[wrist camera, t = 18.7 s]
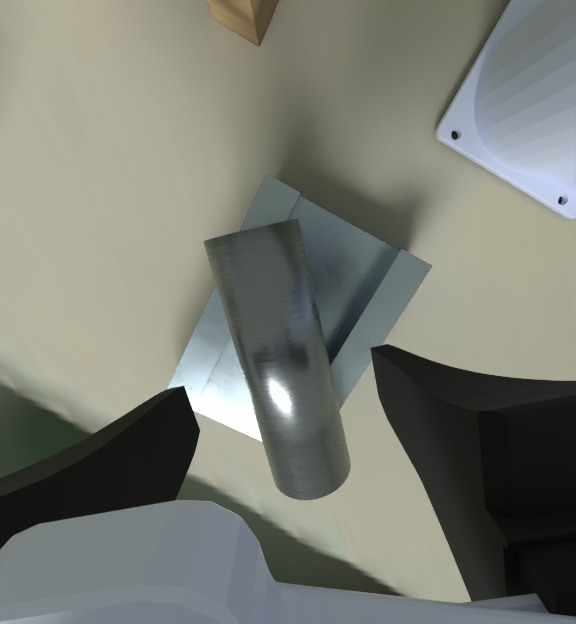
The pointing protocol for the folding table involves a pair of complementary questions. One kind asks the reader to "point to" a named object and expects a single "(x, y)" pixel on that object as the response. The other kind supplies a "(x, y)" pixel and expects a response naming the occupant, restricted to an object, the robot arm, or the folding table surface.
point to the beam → (244, 16)
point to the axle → (282, 355)
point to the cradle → (329, 297)
